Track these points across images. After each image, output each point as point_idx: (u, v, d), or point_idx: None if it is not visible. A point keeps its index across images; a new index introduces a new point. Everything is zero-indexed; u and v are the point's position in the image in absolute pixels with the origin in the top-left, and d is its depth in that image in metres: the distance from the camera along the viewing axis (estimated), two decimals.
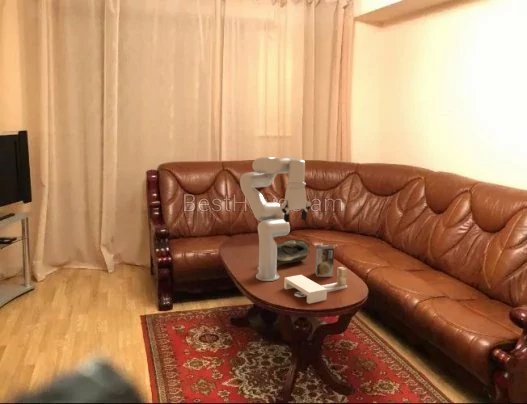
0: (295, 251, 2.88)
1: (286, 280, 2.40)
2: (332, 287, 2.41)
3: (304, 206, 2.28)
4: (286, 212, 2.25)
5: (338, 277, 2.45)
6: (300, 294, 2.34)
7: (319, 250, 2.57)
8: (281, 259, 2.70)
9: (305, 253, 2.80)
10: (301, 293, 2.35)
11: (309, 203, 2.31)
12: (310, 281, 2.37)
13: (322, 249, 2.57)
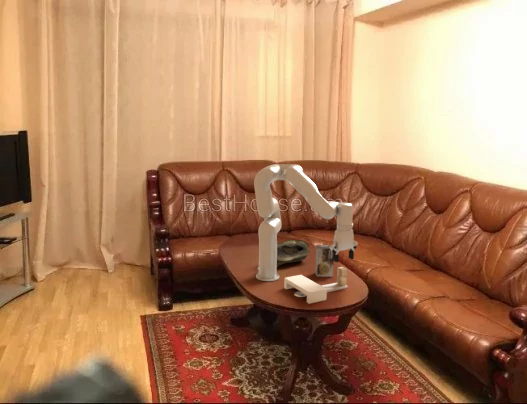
0: (295, 251, 2.89)
1: (286, 280, 2.40)
2: (332, 287, 2.41)
3: (352, 246, 2.42)
4: (336, 253, 2.39)
5: (338, 277, 2.45)
6: (300, 294, 2.34)
7: (319, 250, 2.57)
8: (281, 259, 2.70)
9: (305, 253, 2.80)
10: (301, 293, 2.35)
11: (356, 243, 2.45)
12: (310, 281, 2.37)
13: (322, 249, 2.57)
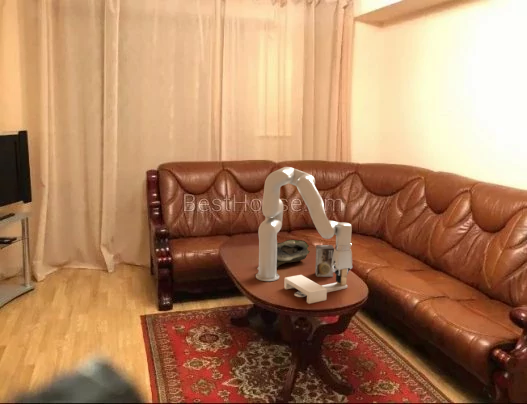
0: (295, 251, 2.89)
1: (286, 280, 2.40)
2: (332, 287, 2.41)
3: (350, 266, 2.44)
4: None
5: None
6: (300, 294, 2.34)
7: (319, 250, 2.57)
8: (281, 259, 2.71)
9: (305, 253, 2.81)
10: (301, 293, 2.35)
11: (351, 266, 2.47)
12: (310, 281, 2.37)
13: (322, 249, 2.57)
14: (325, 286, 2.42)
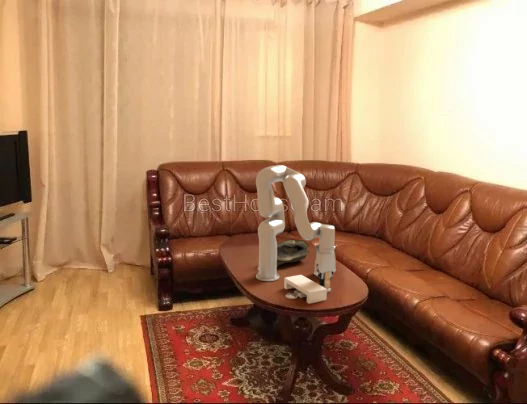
0: (294, 251, 2.89)
1: (286, 280, 2.40)
2: None
3: (333, 269, 2.39)
4: (321, 277, 2.38)
5: None
6: (291, 295, 2.31)
7: None
8: (281, 259, 2.71)
9: (305, 253, 2.81)
10: (292, 294, 2.32)
11: None
12: (310, 281, 2.37)
13: None
14: None
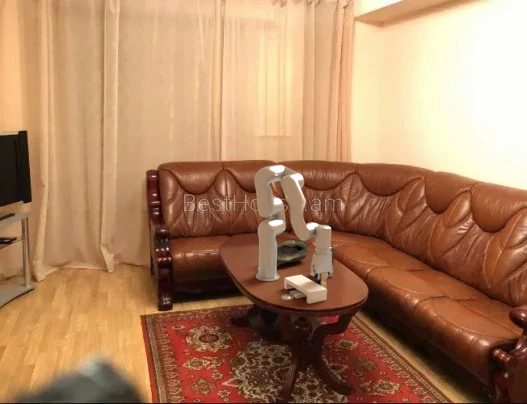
0: (294, 251, 2.89)
1: (286, 280, 2.40)
2: None
3: (330, 269, 2.38)
4: (318, 278, 2.37)
5: None
6: (287, 297, 2.30)
7: None
8: (281, 259, 2.71)
9: (304, 253, 2.81)
10: (288, 296, 2.31)
11: (331, 270, 2.41)
12: (310, 281, 2.37)
13: None
14: None
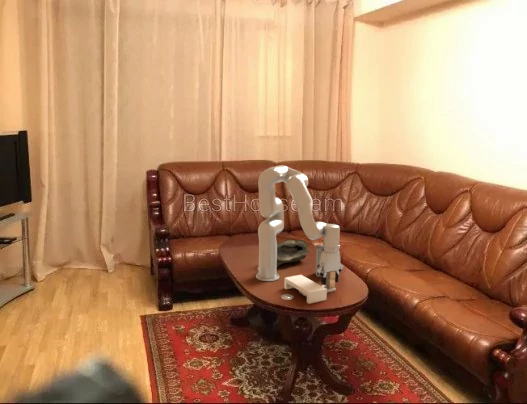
0: (294, 251, 2.89)
1: (286, 280, 2.40)
2: None
3: (338, 268, 2.41)
4: (323, 276, 2.38)
5: (326, 279, 2.42)
6: (287, 297, 2.30)
7: (319, 250, 2.57)
8: (281, 259, 2.71)
9: (304, 253, 2.81)
10: (288, 296, 2.31)
11: (341, 266, 2.44)
12: (310, 281, 2.37)
13: (322, 249, 2.57)
14: None
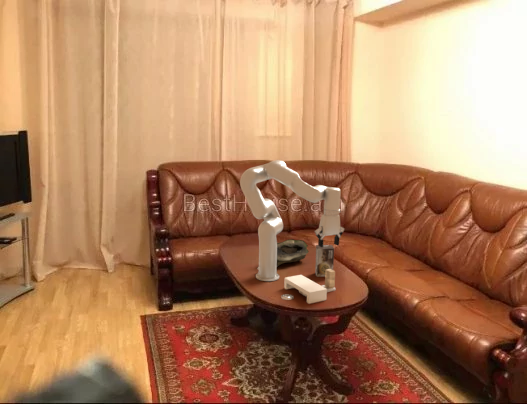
0: (294, 251, 2.89)
1: (286, 280, 2.40)
2: None
3: (338, 232, 2.39)
4: (321, 238, 2.36)
5: (326, 279, 2.42)
6: (287, 297, 2.30)
7: (319, 250, 2.57)
8: (281, 259, 2.71)
9: (304, 253, 2.81)
10: (288, 296, 2.31)
11: (342, 229, 2.42)
12: (310, 281, 2.37)
13: (322, 249, 2.57)
14: None
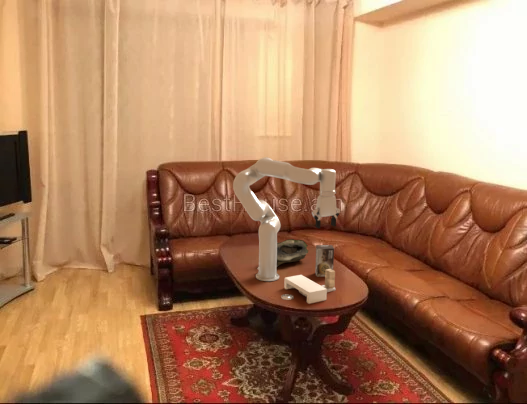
0: (293, 251, 2.89)
1: (286, 280, 2.40)
2: None
3: (334, 213, 2.43)
4: (318, 219, 2.40)
5: (326, 279, 2.42)
6: (287, 297, 2.30)
7: (319, 250, 2.57)
8: (281, 259, 2.71)
9: (304, 252, 2.81)
10: (288, 296, 2.31)
11: (338, 210, 2.46)
12: (310, 281, 2.37)
13: (322, 249, 2.57)
14: None
